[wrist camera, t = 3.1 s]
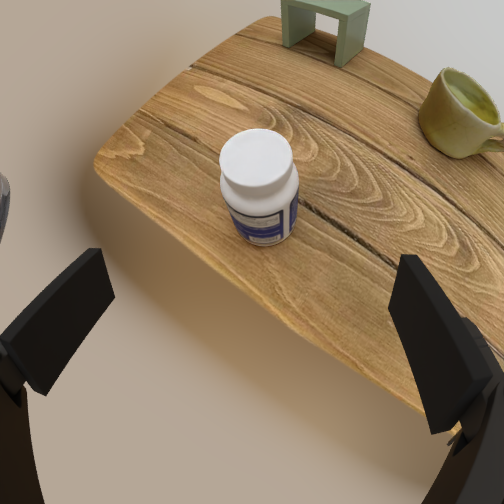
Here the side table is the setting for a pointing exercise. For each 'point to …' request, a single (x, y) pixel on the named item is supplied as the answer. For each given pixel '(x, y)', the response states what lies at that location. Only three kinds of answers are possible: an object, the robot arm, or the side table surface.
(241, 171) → the pill bottle
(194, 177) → the side table surface
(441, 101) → the mug
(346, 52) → the shelf
